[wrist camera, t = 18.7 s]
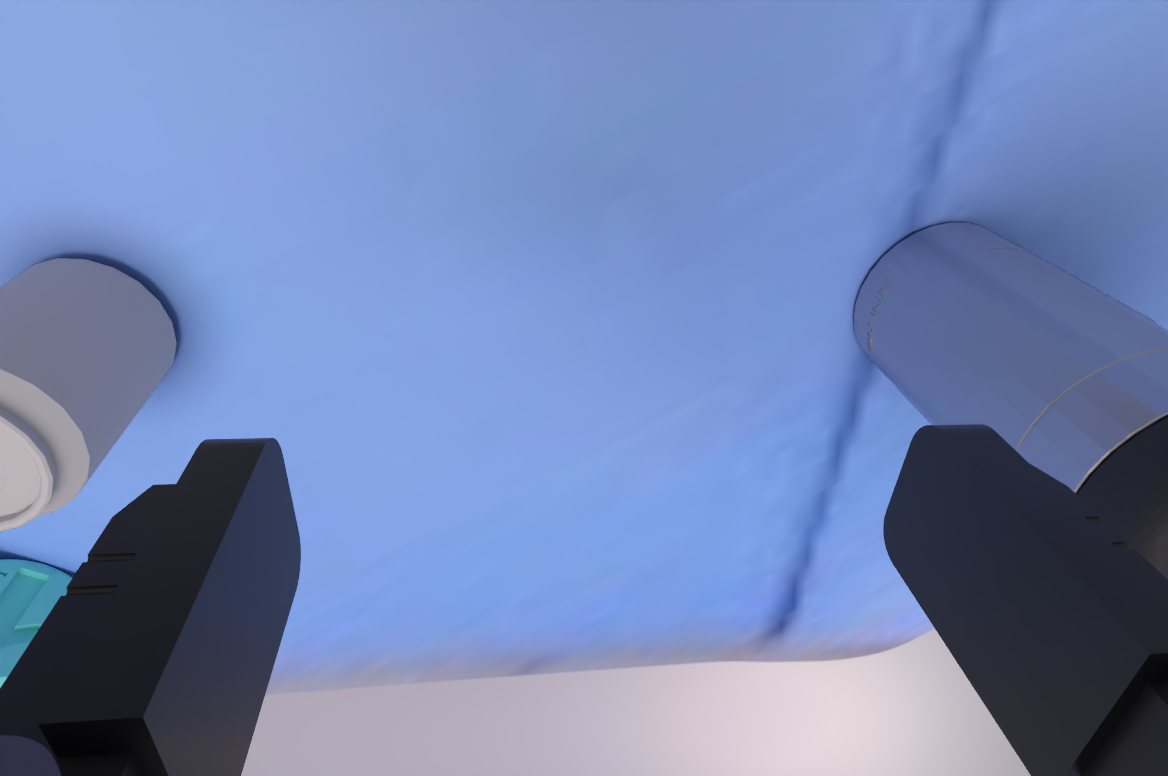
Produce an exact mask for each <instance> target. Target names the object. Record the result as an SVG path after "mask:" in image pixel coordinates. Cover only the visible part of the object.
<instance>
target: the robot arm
mask: <svg viewBox="0 0 1168 776" xmlns="http://www.w3.org/2000/svg"><path fill="white" fill-rule="evenodd" d="M854 330H855V335H856V338H857V340H858V343H859V346H860V347H861V348H862V350H863V351H864V353H865V354H866V355H867V357H868V358H869V359H870V360H871V361H872V362H873V363H874V364H875V365H876V366H877V367H878V368H879V369H880V370H881V371H882V372H883V374H884V375H885V376H886V377H887V378H888V379H889V380H890V381H891V382H892V383H893V384H894V385H895V386H896V387H897V389H898V390H899V391H900V392H901V393H902V394H903V395H904V396H905V397H906V398H907V400H908V401H909V402H910V403H911V404H912V405H913V406H914V407H915V408H916V409H917V410H918V411H919V412H920V413H921V414H922V415H923V416H924V418H925V419H926V420H927V421H928V422H929V423H930V424H931V425H927V426H923V427H922V428H920V429H919V430H918V431H917V432H916V433H915V435H914V436H913V439H912V441H911V443H910V446H909V449H908V452H907V455H906V458H905V460H904V463H903V466H902V469H901V472H900V474H899V477H898V480H897V483H896V486H895V488H894V491H893V494H892V497H891V500H890V502H889V505H888V508H887V511H886V514H885V518H884V540H885V545H886V549H887V552H888V555H889V557H890V559H891V561H892V563H893V565H894V566H895V568H896V569H897V571H898V572H899V574H900V575H901V577H902V578H903V580H904V582H905V583H906V585H907V586H908V588H909V589H910V591H911V592H912V594H913V595H914V597H915V598H916V600H917V601H918V603H919V605H920V606H921V608H922V609H923V611H924V612H925V614H926V615H927V617H928V618H929V620H930V621H931V623H932V624H933V626H934V628H935V629H936V630H937V632H938V634H939V635H940V637H941V638H942V640H943V641H944V643H945V644H946V646H947V647H948V649H949V650H950V652H951V653H952V655H953V657H954V658H955V660H956V661H957V663H958V664H959V666H960V667H961V669H962V670H963V672H964V673H965V675H966V677H967V678H968V680H969V681H970V683H971V684H972V686H973V687H974V689H975V690H976V692H977V693H978V695H979V696H980V698H981V700H982V701H983V703H984V704H985V706H986V707H987V709H988V710H989V712H990V713H991V715H992V716H993V718H994V719H995V721H996V723H997V724H998V726H999V727H1000V729H1001V730H1002V732H1003V733H1004V735H1005V736H1006V738H1007V739H1008V741H1009V742H1010V744H1011V746H1012V747H1013V749H1014V750H1015V752H1016V753H1017V755H1018V756H1019V758H1020V759H1021V761H1022V762H1023V764H1024V765H1025V767H1026V769H1027V770H1028V772H1029V773H1030V774H1031V776H1168V330H1166V329H1164V328H1162V327H1161V326H1159V325H1157V324H1156V323H1155V322H1154V321H1153V320H1152V319H1150V318H1148V317H1146V316H1145V315H1143V314H1141V313H1139V312H1137V311H1136V310H1134V309H1132V308H1130V307H1128V306H1127V305H1125V304H1123V303H1121V302H1119V301H1118V300H1116V299H1114V298H1112V297H1110V296H1109V295H1107V294H1105V293H1103V292H1102V291H1100V290H1098V289H1096V288H1094V287H1093V286H1091V285H1089V284H1087V283H1085V282H1084V281H1082V280H1080V279H1078V278H1076V277H1075V276H1073V275H1071V274H1069V273H1067V272H1066V271H1064V270H1062V269H1060V268H1059V267H1057V266H1055V265H1053V264H1051V263H1050V262H1048V261H1046V260H1044V259H1042V258H1041V257H1039V256H1037V255H1035V254H1033V253H1032V252H1030V251H1028V250H1026V249H1024V248H1020V247H1018V246H1017V245H1015V244H1013V243H1011V242H1009V241H1008V240H1006V239H1004V238H1002V237H1000V236H998V235H997V234H995V233H993V232H991V231H989V230H987V229H986V228H984V227H982V226H979V225H975V224H970V223H966V222H963V223H945V224H940V225H935V226H931V227H929V228H926V229H924V230H921V231H919V232H917V233H914V234H912V235H911V236H909V237H908V238H906V239H904V240H903V241H901V242H900V243H898V244H897V245H896V246H894V247H893V248H892V249H891V250H890V251H889V252H888V253H886V254H885V255H884V256H883V257H882V258H881V259H880V261H879V262H878V263H877V264H876V265H875V267H874V268H873V269H872V270H871V271H870V273H869V275H868V277H867V278H866V280H865V282H864V284H863V285H862V287H861V290H860V292H859V295H858V298H857V301H856V304H855V311H854ZM300 560H301V548H300V537H299V531H298V526H297V521H296V517H295V512H294V507H293V502H292V497H291V492H290V488H289V483H288V478H287V473H286V468H285V464H284V459H283V454H282V450H281V447H280V445H279V443H278V441H277V440H276V439H274V438H255V439H209V440H204V441H203V442H202V443H201V444H200V445H199V446H198V448H197V449H196V451H195V453H194V454H193V456H192V458H191V460H190V461H189V463H188V465H187V467H186V468H185V470H184V472H183V473H182V475H181V477H180V479H179V480H178V482H177V484H168V485H152V486H151V487H150V488H149V489H147V490H146V491H145V492H144V493H142V494H141V495H140V496H139V497H137V498H136V499H135V500H133V501H132V502H131V503H130V504H128V505H127V506H126V507H125V508H123V509H122V510H121V511H120V512H118V513H117V514H116V515H115V516H113V517H112V519H111V520H110V522H109V523H108V525H107V526H106V528H105V529H104V531H103V532H102V534H101V535H100V537H99V538H98V540H97V542H96V543H95V545H94V546H93V548H92V549H91V551H90V552H89V554H88V561H87V562H83V563H82V564H81V566H80V567H79V569H78V570H77V572H76V574H75V575H74V577H73V578H72V580H71V581H70V583H69V584H68V586H67V593H66V595H65V596H60V598H59V599H58V601H57V602H56V604H55V606H54V607H53V609H52V610H51V612H50V613H49V615H48V616H47V618H46V619H45V621H44V622H43V624H42V625H41V627H40V628H39V630H38V631H37V633H36V634H35V636H34V637H33V639H32V641H31V642H30V644H29V645H28V647H27V648H26V650H25V651H24V653H23V654H22V656H21V657H20V659H19V660H18V662H17V663H16V665H15V666H14V668H13V669H12V671H11V673H10V674H9V676H8V677H7V679H6V680H5V682H4V683H3V685H2V686H1V688H0V776H241V773H242V770H243V767H244V763H245V759H246V757H247V753H248V750H249V747H250V743H251V740H252V736H253V733H254V730H255V726H256V723H257V720H258V716H259V713H260V709H261V706H262V703H263V699H264V696H265V693H266V690H267V686H268V683H269V679H270V676H271V673H272V669H273V666H274V663H275V659H276V656H277V653H278V649H279V646H280V643H281V639H282V636H283V632H284V629H285V626H286V622H287V619H288V616H289V612H290V609H291V606H292V602H293V599H294V596H295V592H296V589H297V585H298V580H299V573H300Z"/></svg>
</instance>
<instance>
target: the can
mask: <svg viewBox="0 0 1168 776" xmlns="http://www.w3.org/2000/svg"><path fill="white" fill-rule="evenodd" d="M176 345H177V342H176V337H175V333H174V328H173V324H172V321H171V320H170V318H169V316H168V315H167V313H166V311H165V310H164V308H163V306H162V305H161V303H160V301H159V300H158V299H157V298H156V297H154V296H153V295H152V294H151V293H150V292H149V291H148V290H147V289H146V288H145V287H144V286H143V285H142V284H141V283H140V282H138V281H136V280H135V279H133V278H131V277H129V276H128V275H126V274H124V273H122V272H121V271H119V270H117V269H115V268H113V267H110V266H107V265H103V264H100V263H97V262H93V261H90V260H86V259H67V258H56V259H52V260H49V261H45V262H41V263H37V264H33V265H32V266H30V267H29V268H28V269H26V270H25V271H23V272H22V273H21V274H19V275H18V276H16V277H15V278H14V279H12V280H11V281H9V282H8V283H7V284H5V285H4V286H2V287H1V288H0V532H1V531H5V530H9V529H13V528H17V527H21V526H23V525H25V524H26V523H28V522H29V521H31V520H33V519H34V518H36V517H37V516H40V515H44V514H48V513H52V512H54V511H56V510H58V509H59V508H61V507H62V506H64V505H65V504H67V503H69V502H70V501H72V500H73V499H75V497H76V496H77V495H78V493H79V492H80V491H81V489H82V488H83V487H84V485H85V484H86V483H87V481H88V480H89V478H90V477H91V476H92V474H93V473H94V472H95V470H96V469H97V468H98V466H99V465H100V463H101V462H102V461H103V459H104V458H105V457H106V455H107V454H108V453H109V451H110V450H111V448H112V447H113V446H114V444H115V443H116V442H117V440H118V439H119V438H120V436H121V435H122V433H123V432H124V431H125V429H126V428H127V427H128V425H129V424H130V423H131V421H132V420H133V419H134V417H135V416H136V414H137V413H138V412H139V410H140V409H141V408H142V406H143V405H144V404H145V402H146V401H147V399H148V398H149V397H150V395H151V394H152V393H153V391H154V390H155V389H156V387H157V386H158V384H159V383H160V382H161V380H162V379H163V378H164V376H165V375H166V373H167V372H168V370H169V369H170V367H171V366H172V364H173V363H174V357H175V351H176Z"/></svg>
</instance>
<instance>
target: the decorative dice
mask: <svg viewBox="0 0 1168 776" xmlns="http://www.w3.org/2000/svg"><path fill="white" fill-rule="evenodd" d="M72 578H73V577H71V576H70V575H68V574H66V573H64V572H62V571H61V570H58V569H56V568H54V567H51V566H48V565H45V564H41V563H38V562H33V561H27V560H18V559H0V688H1V686H2V685H3V683H4V682H5V680H6V679H7V677H8V676H9V674H10V673H11V671H12V669H13V668H14V666H15V665H16V663H17V662H18V660H19V659H20V657H21V656H22V654H23V653H24V651H25V650H26V648H27V647H28V645H29V644H30V642H31V641H32V639H33V637H34V636H35V634H36V633H37V631H38V630H39V628H40V627H41V625H42V624H43V622H44V621H45V619H46V618H47V616H48V615H49V613H50V612H51V610H52V609H53V607H54V606H55V604H56V602H57V601H58V599H59V598H60V596H65V595H66V593H67V586H68V584H69V583H70V581H71V580H72Z"/></svg>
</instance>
